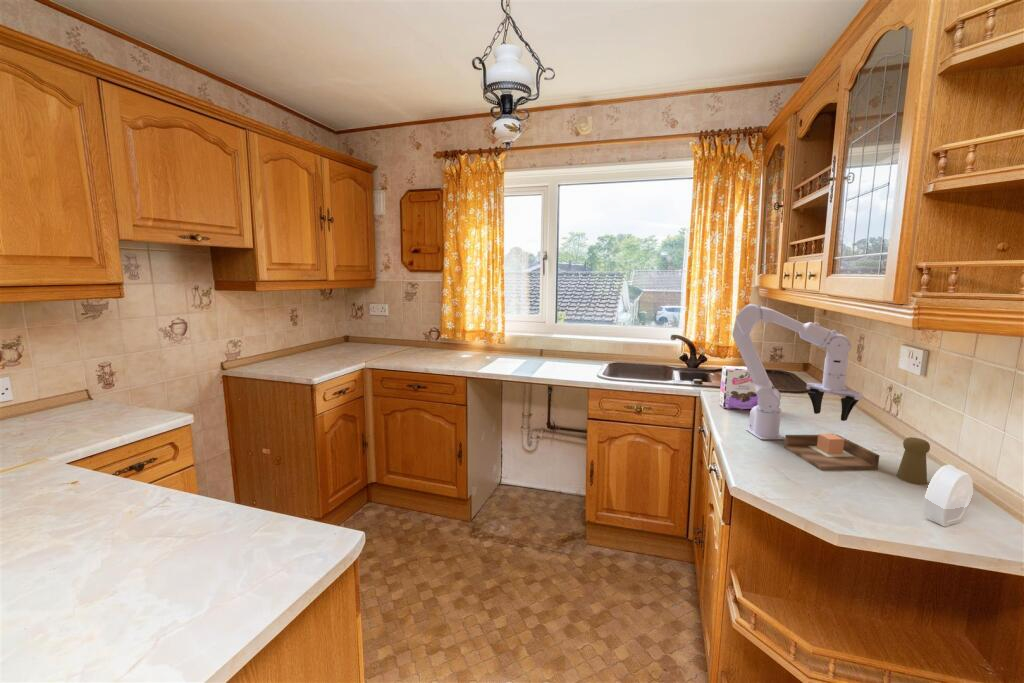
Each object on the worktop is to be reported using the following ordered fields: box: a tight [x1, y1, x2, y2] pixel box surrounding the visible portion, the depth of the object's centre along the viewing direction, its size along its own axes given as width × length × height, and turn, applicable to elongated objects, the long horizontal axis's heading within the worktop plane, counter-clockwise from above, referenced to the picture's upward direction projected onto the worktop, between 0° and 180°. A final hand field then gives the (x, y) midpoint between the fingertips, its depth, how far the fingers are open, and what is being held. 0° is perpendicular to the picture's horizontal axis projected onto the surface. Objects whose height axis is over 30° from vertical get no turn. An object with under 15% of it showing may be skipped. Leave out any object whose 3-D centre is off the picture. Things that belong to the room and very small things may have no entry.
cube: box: [817, 433, 844, 454], centre depth 133 cm, size 4×4×4 cm
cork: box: [896, 436, 931, 485], centre depth 117 cm, size 6×6×11 cm
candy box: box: [718, 365, 758, 410], centre depth 179 cm, size 14×6×16 cm, turn 81°
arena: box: [784, 434, 880, 471], centre depth 131 cm, size 16×16×4 cm
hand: (830, 416), depth 139 cm, fingers open, 7 cm apart
